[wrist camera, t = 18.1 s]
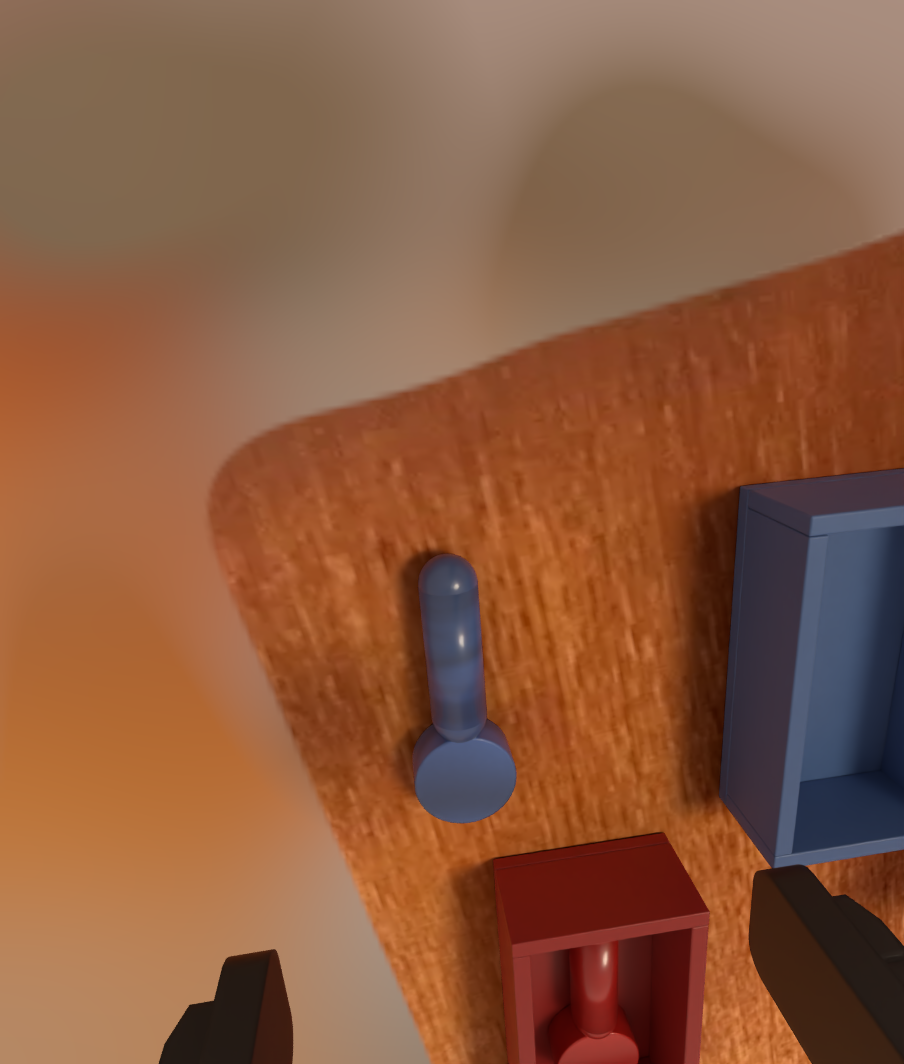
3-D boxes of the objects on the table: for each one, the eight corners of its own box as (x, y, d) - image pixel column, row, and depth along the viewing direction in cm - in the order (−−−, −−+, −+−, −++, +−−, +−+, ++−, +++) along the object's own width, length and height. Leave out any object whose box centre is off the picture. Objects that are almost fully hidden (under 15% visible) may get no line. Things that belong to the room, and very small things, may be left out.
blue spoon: (387, 551, 19) (388, 573, 18) (496, 539, 20) (507, 559, 18) (417, 801, 22) (420, 840, 21) (510, 787, 23) (521, 825, 21)
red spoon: (541, 890, 24) (554, 933, 22) (628, 876, 24) (648, 918, 22) (548, 1061, 26) (560, 1111, 25) (626, 1047, 27) (643, 1096, 25)
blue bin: (739, 485, 20) (811, 516, 17) (933, 464, 21) (1040, 490, 17) (718, 796, 24) (773, 871, 20) (882, 771, 24) (962, 840, 21)
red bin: (492, 858, 23) (511, 945, 20) (664, 831, 24) (710, 912, 21) (508, 1077, 27) (526, 1180, 24) (656, 1050, 28) (694, 1147, 24)
